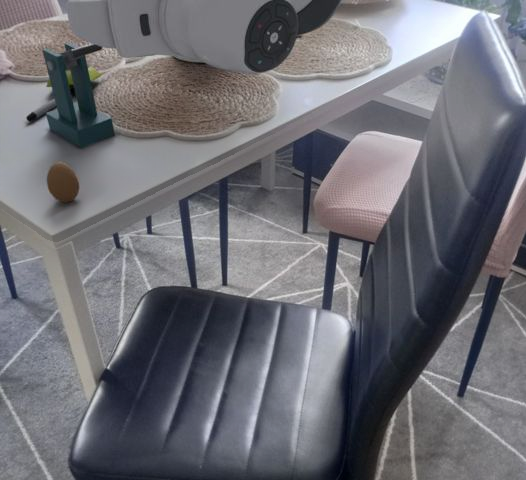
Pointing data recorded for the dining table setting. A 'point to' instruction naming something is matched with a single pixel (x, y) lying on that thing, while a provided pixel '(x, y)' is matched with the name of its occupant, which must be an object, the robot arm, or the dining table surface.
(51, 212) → the dining table surface
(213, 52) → the robot arm
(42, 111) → the pen
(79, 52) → the lever
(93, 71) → the saucer
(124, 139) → the dining table surface
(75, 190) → the egg
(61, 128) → the teal axle stand
